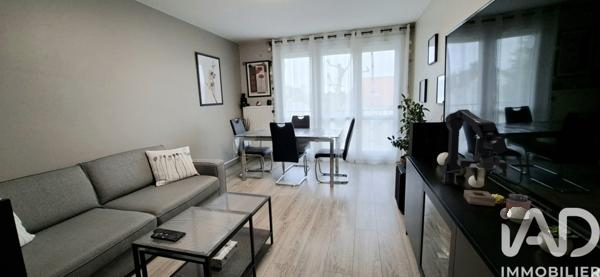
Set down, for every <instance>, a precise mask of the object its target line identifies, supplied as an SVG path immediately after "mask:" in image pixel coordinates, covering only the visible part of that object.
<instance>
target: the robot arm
mask: <svg viewBox="0 0 600 277" xmlns="http://www.w3.org/2000/svg"><path fill="white" fill-rule="evenodd" d="M444 120H445V125H446V128H447V129H448V148H447V151H448V152H447V156H446V158H445V159H444V160H443V164H442V165H441V167H440V172H441V173H443V175H444V176H443V179H442V180H441V181H442V183H443V182H444V183H443V184H444V185H450V186H451V185H452V186H457V185H458V183H457V181H456V179H457V177H456V176H457V174H458V175H459V174H461V172H462V168H464V167H465V168H469V169H470V171H471V172H472V175H473V178H474V180H475V182H476V181H477V170H478V168H479V167H478V166H480V168H484V169H485V177H484V183H485V182H486V181H487V179H488V178H489V176H490V174H491V173H492V172H493V171H497V168H496V167H498V168H499V169H501V170H508V169H509V163H508V162H507V161H505V160H503V159H500V157H496V156H495V157H493V156H492V153H495V154H499V155H500V154H503V153H505V151H506V150H507V148H508V147H507V146H508V145H507V143H506V142H505V141H504V140H503V137H501V135H500V131H499V129H498V127H497V125H496V123H495V122H494V121H492V120H488V119H483V118H480V117H479V116H477V115H476V114H474V113H473V112H471V111H470V110H469V109H466V108H465V109H464V108H463V109H458V110H456V111H455V112H451V113H450V114H448V115H447V116H446V117H445V119H444ZM465 122H466V123H467V124H469V125H470V126H471V127H472V130H473V132H475V135H474V136H473V138H474V139H476V140H475V149H474V158H473V160H469V159H468V158H460V156H459V148H460V146H459V145H460V143H459V142H460V131H461V129H463V126H464V123H465Z"/></svg>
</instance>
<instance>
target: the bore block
mask: <svg viewBox="0 0 600 277" xmlns="http://www.w3.org/2000/svg"><path fill="white" fill-rule="evenodd" d="M463 198H464V199H465V200H466V202H467V203H468V204H470V205H479V206H480V205H481V206H489V207H490V206H491V207H495V206H496V198H495V197H494V196H493V195H492V194H491V193H490V192H489V191H485V190H484V191H482V190H469V189H464V191H463Z"/></svg>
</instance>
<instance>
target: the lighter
mask: <svg viewBox="0 0 600 277" xmlns="http://www.w3.org/2000/svg"><path fill="white" fill-rule="evenodd" d="M528 199H529V196H528V195H524V194H521V193H518V194H514V193H509V194H508V198H506V200H505V201H506V202H505V203H506V204H505V205H506V206H505V213H504V217H505V218H507V213H508V211H509V209H511V208H512V207H522V208H524V209H526V210H531V205H532V201H531V200H528Z"/></svg>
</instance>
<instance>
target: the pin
mask: <svg viewBox="0 0 600 277" xmlns="http://www.w3.org/2000/svg"><path fill="white" fill-rule="evenodd" d="M477 168H478V170H477V181H475V186H478V187H484V185H485V182H484V177H485V169H484V168H481V167H477Z"/></svg>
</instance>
